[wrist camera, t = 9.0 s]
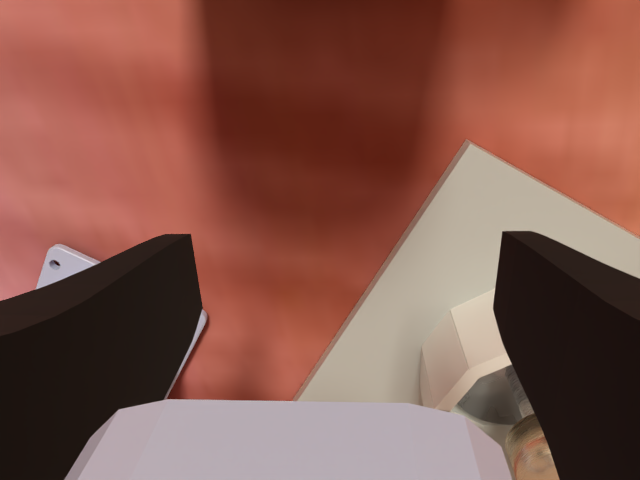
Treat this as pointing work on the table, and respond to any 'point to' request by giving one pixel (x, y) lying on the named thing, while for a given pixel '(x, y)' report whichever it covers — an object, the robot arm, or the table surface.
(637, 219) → the table surface
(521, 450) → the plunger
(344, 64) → the table surface
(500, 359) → the white square-based fixture
